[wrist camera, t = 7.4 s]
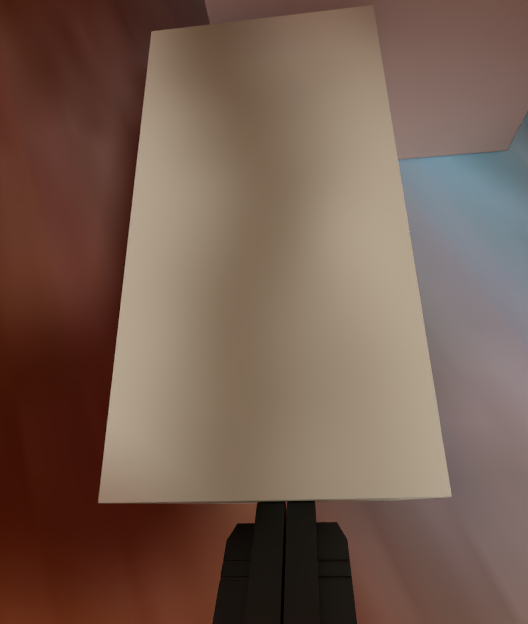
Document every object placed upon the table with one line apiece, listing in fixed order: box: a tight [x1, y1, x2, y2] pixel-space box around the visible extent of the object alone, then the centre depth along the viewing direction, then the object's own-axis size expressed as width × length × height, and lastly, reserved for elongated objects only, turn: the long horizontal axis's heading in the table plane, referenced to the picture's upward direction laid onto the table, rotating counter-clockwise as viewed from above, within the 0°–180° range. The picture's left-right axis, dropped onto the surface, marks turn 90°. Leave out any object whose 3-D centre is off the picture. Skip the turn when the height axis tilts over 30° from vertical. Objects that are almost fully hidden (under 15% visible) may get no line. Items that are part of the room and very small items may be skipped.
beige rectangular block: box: [98, 5, 452, 504], centre depth 16 cm, size 7×14×8 cm, turn 1°
